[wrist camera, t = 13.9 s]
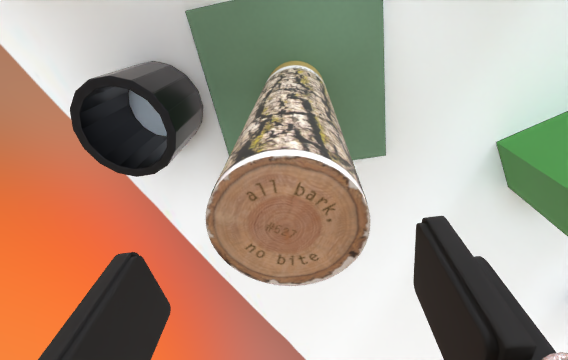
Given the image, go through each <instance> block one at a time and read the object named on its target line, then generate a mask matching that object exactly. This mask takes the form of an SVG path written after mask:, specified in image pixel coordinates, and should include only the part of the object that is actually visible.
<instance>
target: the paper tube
mask: <svg viewBox="0 0 568 360" xmlns="http://www.w3.org/2000/svg"><path fill="white" fill-rule="evenodd" d="M206 227H207V232H208V235H209V238H210V240H211V243H212V244H213V246H214V248H215V250H216V251H217V252H218V254H219V255H220V256H221V257H222V258H223V259H224V260H225V261H226V262H227V263H228V264H229V265H230V266H232V267H233V268H234V269H236V270H237V271H239V272H240V273H242V274H244V275H246V276H248V277H250V278H253V279H255V280H258V281H261V282H265V283H269V284H274V285H283V286H298V285H307V284H312V283H316V282H320V281H323V280H326V279H328V278H330V277H333V276H334V275H336V274H338V273H340V272H341V271H343V270H344V269H346V268H347V267H348V266H349V265H351V264H352V263H353V262H354V261H355V260H356V258H357V257H358V256H359V255H360V253H361V252H362V250H363V248H364V246H365V244H366V242H367V239H368V236H369V231H370V214H369V209H368V206H367V201H366V198H365V195H364V192H363V190H362V187H361V184H360V181H359V178H358V176H357V173H356V170H355V167H354V164H353V162H352V159H351V156H350V153H349V150H348V148H347V145H346V142H345V139H344V136H343V134H342V131H341V128H340V125H339V122H338V120H337V117H336V114H335V111H334V108H333V106H332V103H331V100H330V97H329V94H328V92H327V89H326V86H325V84H324V81H323V79H322V76H321V75H320V73H319V72H318V71H317V70H316V69H315V68H314V67H313V66H311V65H310V64H308V63H305V62H302V61H289V62H286V63H283V64H281V65H280V66H278V67H277V68H276V69H275V70H274V71H273V72H272V73H271V75H270V76H269V78H268V80H267V82H266V84H265V86H264V88H263V90H262V92H261V94H260V96H259V98H258V100H257V102H256V104H255V106H254V108H253V110H252V112H251V114H250V116H249V118H248V120H247V122H246V124H245V126H244V128H243V130H242V132H241V134H240V136H239V138H238V140H237V142H236V144H235V146H234V148H233V150H232V152H231V154H230V156H229V158H228V160H227V162H226V165H225V167H224V169H223V171H222V173H221V175H220V177H219V179H218V181H217V183H216V185H215V187H214V189H213V191H212V194H211V197H210V199H209V202H208V205H207V209H206Z"/></svg>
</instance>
